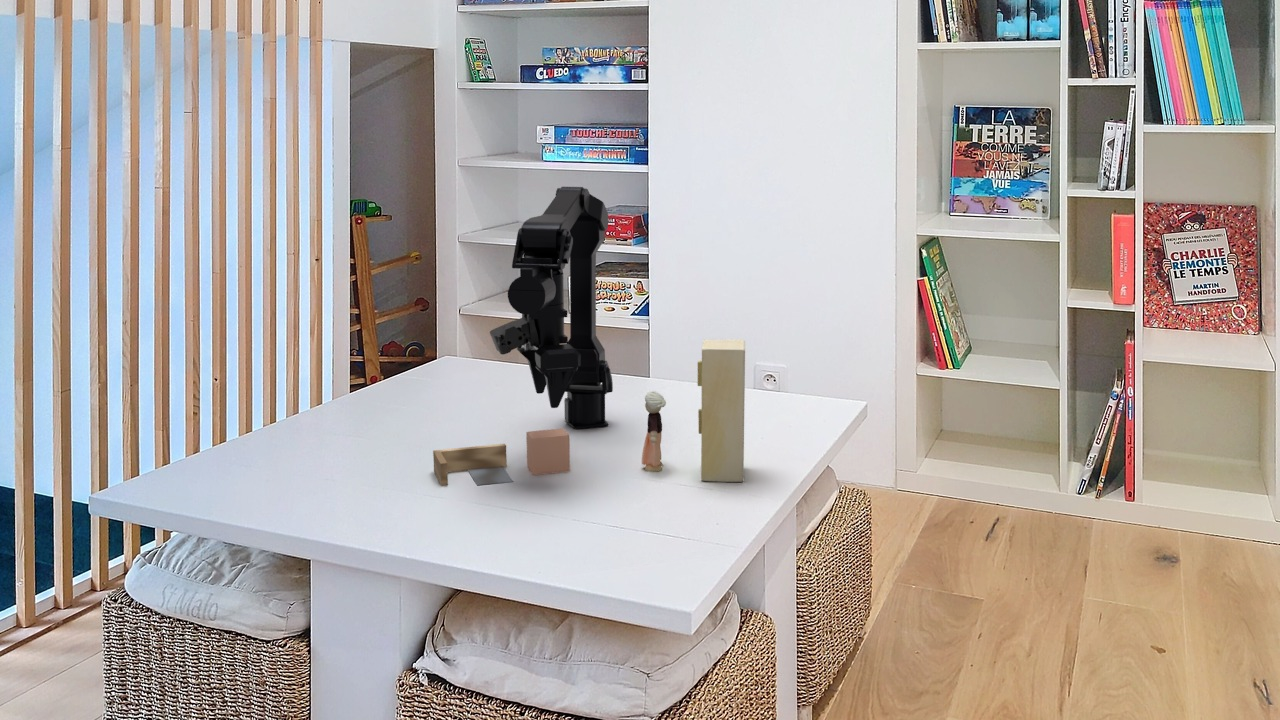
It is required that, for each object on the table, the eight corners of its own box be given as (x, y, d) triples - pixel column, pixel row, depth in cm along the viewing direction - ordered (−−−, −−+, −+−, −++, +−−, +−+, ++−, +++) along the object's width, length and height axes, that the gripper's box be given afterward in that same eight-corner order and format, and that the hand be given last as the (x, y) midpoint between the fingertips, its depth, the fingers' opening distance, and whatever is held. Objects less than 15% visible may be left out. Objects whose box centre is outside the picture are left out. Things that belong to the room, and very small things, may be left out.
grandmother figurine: (639, 461, 192) (639, 385, 189) (662, 460, 192) (663, 385, 189) (643, 476, 184) (643, 398, 181) (668, 475, 184) (668, 397, 181)
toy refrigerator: (697, 465, 189) (699, 338, 185) (743, 466, 189) (746, 338, 184) (695, 481, 182) (697, 349, 177) (743, 483, 181) (746, 350, 176)
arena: (505, 464, 190) (504, 443, 189) (517, 481, 182) (517, 459, 181) (433, 471, 186) (433, 450, 185) (443, 489, 178) (442, 467, 177)
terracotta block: (563, 463, 190) (562, 428, 189) (569, 471, 187) (569, 435, 185) (527, 467, 188) (526, 431, 187) (533, 475, 185) (532, 438, 183)
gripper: (481, 295, 188) (484, 390, 191) (507, 316, 170) (509, 420, 174) (549, 291, 191) (551, 384, 195) (581, 312, 174) (582, 414, 177)
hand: (546, 400), depth 185 cm, fingers open, 9 cm apart
